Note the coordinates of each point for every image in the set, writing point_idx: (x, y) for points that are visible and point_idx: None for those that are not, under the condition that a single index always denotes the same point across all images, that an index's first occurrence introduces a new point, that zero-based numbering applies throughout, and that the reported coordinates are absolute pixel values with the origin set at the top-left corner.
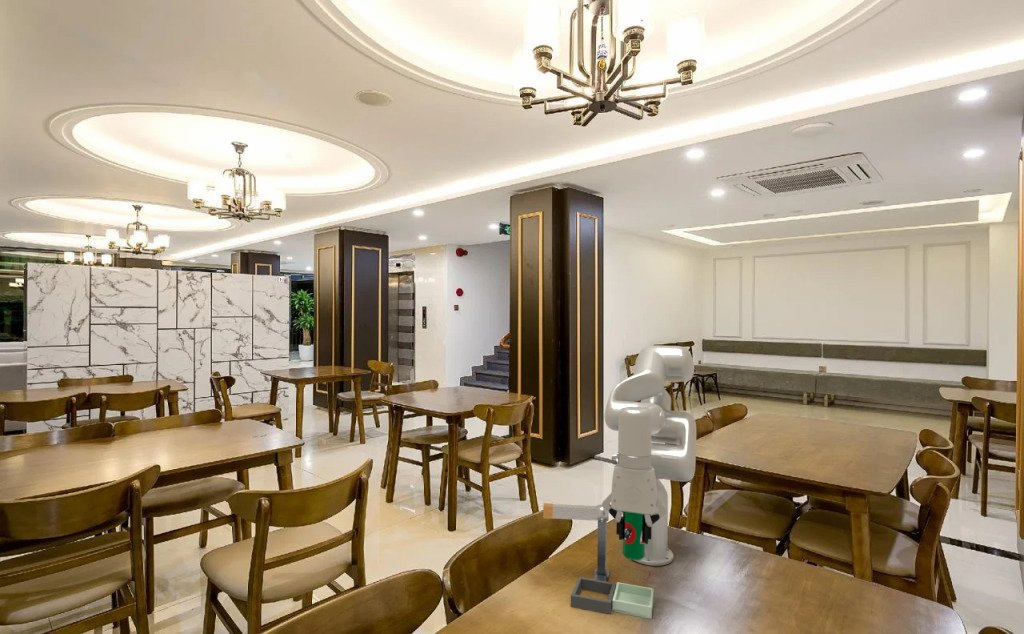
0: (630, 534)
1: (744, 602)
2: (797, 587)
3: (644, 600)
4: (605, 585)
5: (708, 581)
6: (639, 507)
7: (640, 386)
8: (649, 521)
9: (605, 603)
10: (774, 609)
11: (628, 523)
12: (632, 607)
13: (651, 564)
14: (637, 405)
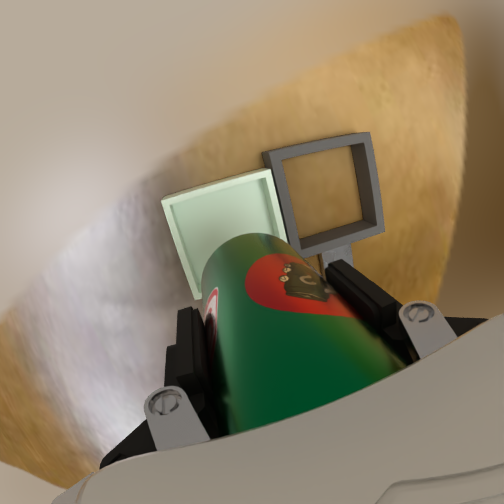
0: (284, 276)
1: (51, 378)
2: (36, 444)
3: (206, 258)
4: (316, 242)
5: (133, 413)
6: (271, 497)
7: None
8: (166, 418)
9: (282, 148)
10: (15, 378)
11: (333, 314)
12: (212, 183)
13: None
14: None
